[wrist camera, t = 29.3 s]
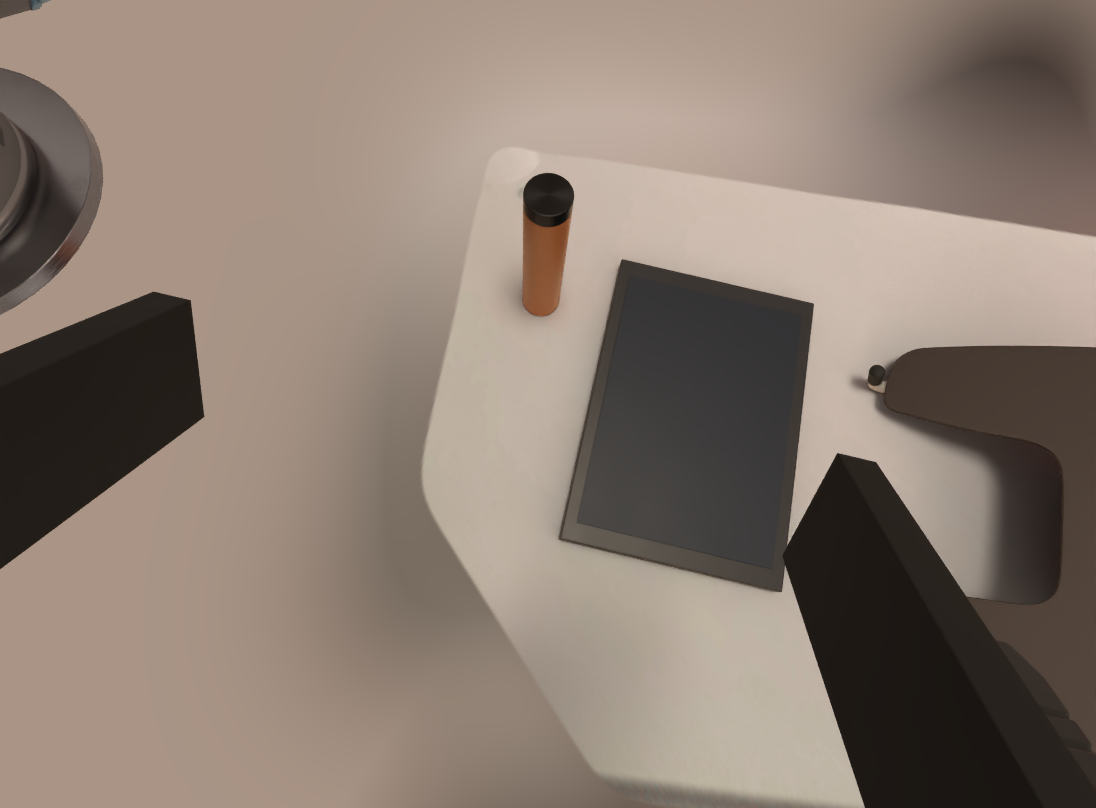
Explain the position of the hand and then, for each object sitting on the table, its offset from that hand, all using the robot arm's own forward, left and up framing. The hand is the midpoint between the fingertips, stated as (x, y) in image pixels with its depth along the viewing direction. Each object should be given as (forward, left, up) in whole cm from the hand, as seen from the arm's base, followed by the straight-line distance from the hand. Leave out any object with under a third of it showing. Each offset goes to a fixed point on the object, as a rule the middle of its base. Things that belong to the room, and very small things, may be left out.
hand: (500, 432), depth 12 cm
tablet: (+10, +10, -26) cm, 29 cm away
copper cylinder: (-2, +16, -26) cm, 30 cm away
